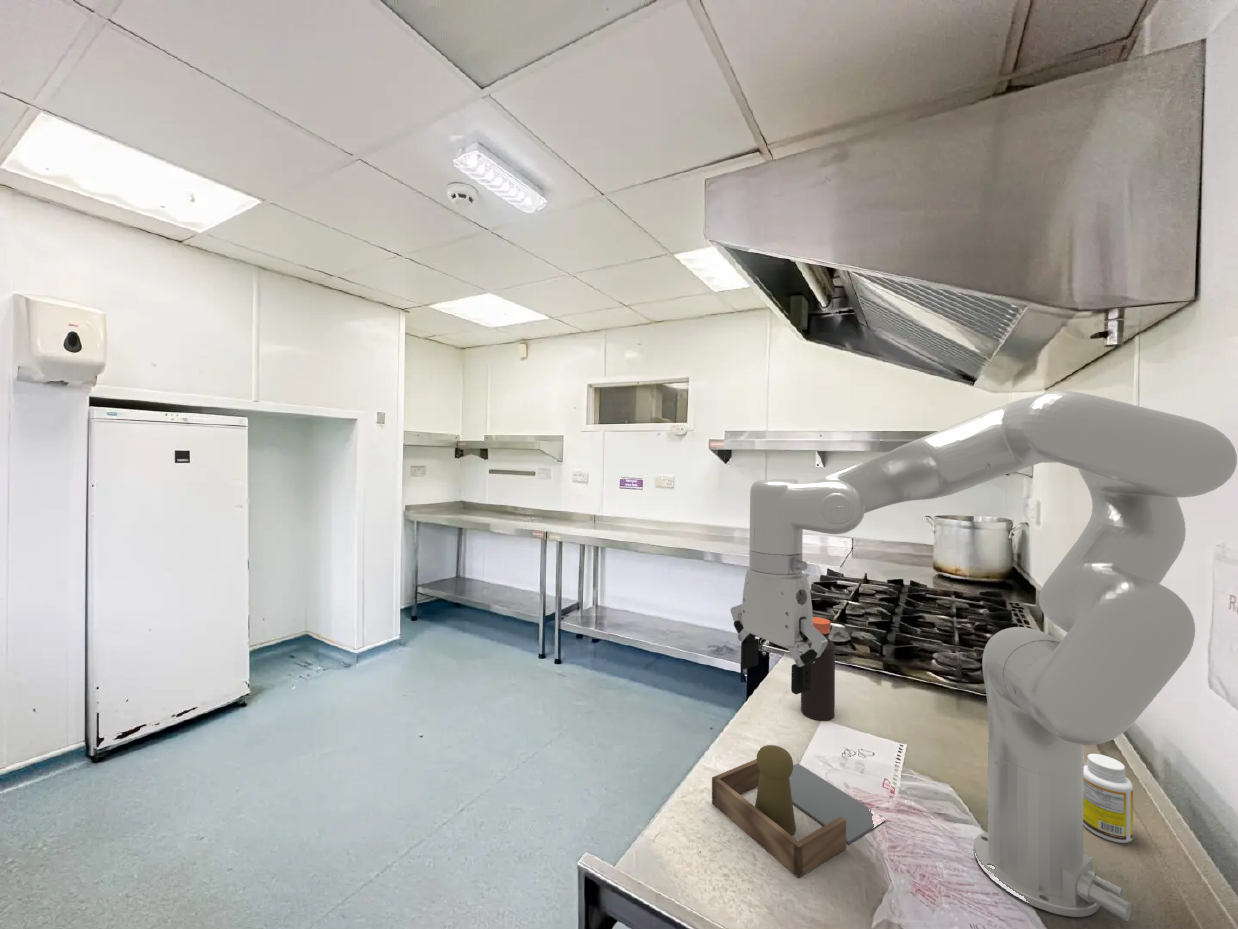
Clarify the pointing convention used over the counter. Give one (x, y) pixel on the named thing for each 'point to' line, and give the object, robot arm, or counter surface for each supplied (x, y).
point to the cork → (775, 786)
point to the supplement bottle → (1107, 799)
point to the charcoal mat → (828, 803)
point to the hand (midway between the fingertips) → (773, 678)
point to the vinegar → (821, 679)
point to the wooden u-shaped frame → (765, 831)
